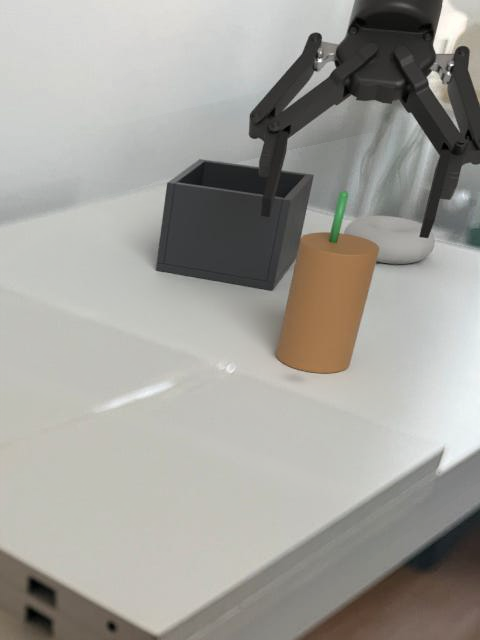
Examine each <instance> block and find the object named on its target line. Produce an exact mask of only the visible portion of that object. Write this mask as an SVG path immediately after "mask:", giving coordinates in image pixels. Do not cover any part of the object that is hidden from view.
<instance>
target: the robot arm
mask: <svg viewBox="0 0 480 640" xmlns="http://www.w3.org/2000/svg"><path fill="white" fill-rule="evenodd" d="M443 3H444V0H354V2H353V6H352V9H351V14H350V16H349V22H348V25H347V29H346V34H345V36H344V38H343V40H341V41H340V42H339V43H338V44H337V43H333V42H328V41H323V36H322V34H321V33H320V32H312V33H310V34H309V35H308V38H307V40H306V42H305V45H304V47H303V50H302V52H301V54H300V55H299V56H298V57H297V59H296V60H295V61H294V62H293V63H292V65H291V66H290V67H289V68H288V69H287V70H286V71H285V72H284V74H283V75H282V76H281V77H280V78H279V79H278V80H277V82H276V83H274V85H273V86H272V87H271V88H270V90H269V91H268V92H267V93H266V94H265V95H264V97H262V99H261V100H260V101H259V102H258V103H257V105H256V106H255V107H254V108H253V109H252V111H250V113H249V118H248V119H249V121H248V136H249V138H250V139H252V140H258V139H260V140H261V141H262V142H263V144H262V149H261V153H260V156H259V160H258V167H259V176H263V177H268V179H267V183H266V187H265V190H264V194H263V198H262V210H261V216H264V217H270V213H271V209H272V206H273V202H274V198H275V194H276V190H277V186H278V182H279V178H280V174H281V170H283V166H284V162H285V160H286V159H285V158H286V155H287V150H288V140H289V138H291V137H293V136H294V135H295V134H297V133H298V132H299V131H301V130H303V129H304V128H305V127H306V126H307V125H309V124H310V123H312V122H313V121H314V120H316V119H317V118H318V117H319V116H321V115H322V114H324V113H325V112H326V111H327V110H329V109H330V108H332V107H333V106H339V105H340V104H341V103H343V102H344V101H346V100H347V99H348V98H350V97H351V96H352V97H355V98H356V99H355V101H359V102H361V101H362V102H368V101H377V102H379V103H382V104H387V105H392V104H393V102H395V101H399V102H400V104H401V105H402V106H403V108H404V109H405V111H406V112H407V113H408V114H411V115H412V116H413V118H414V119H415V121H416V122H417V124H418V125H419V127H420V129H421V130H422V132H423V134H424V135H425V136H426V137H427V139H428V141H429V142H430V144H431V145H432V146H433V148H434V150H435V151H436V152H437V154H438V155H439V157H438V160H437V163H436V165H435V168H434V172H433V176H432V181H431V186H430V190H429V194H428V198H427V201H426V202H427V203H426V206H425V210H424V215H423V219H422V223H421V224H422V227H421V231H420V236H419V237H422V238H428V237H429V235H430V232H431V231H432V230H433V229H432V228H433V226H434V224H435V220H436V217H437V213H438V208H439V205H440V200H448V201H450V200H451V199H452V198H453V196H454V195H455V192H456V189H457V187H458V183H459V179H460V175H461V171H462V167H463V166H464V165H466V164H472V165H474V166H476V165H480V102H479V98H478V96H477V93H476V90H475V86H474V83H473V81H472V78H471V74H470V71H469V63H470V55H471V54H470V53H471V51H470V50H471V49H470V48H469V47H468V46H466V45H460V46H458V47H457V48H456V49H455V51H454V53H437V52H436V49H435V47H434V42H435V38H436V36H437V35H436V34H437V30H438V26H439V22H440V18H441V14H442V10H443ZM330 62H334V63H333V64H334V66H335V68H334V69H333V70H332V71H331V73H329V76H328V77H326V79H324V80H322V81H321V82H320V83H318V84H317V85H316V86H314V87H313V88H312V89H311V90H309V91H308V92H307V93H305V94H304V95H303V96H301V97H300V98H298V99H297V100H296V101H294V102H293V103H292V101H293V100H294V99H295V98H296V97H297V96H298V94H299V93H300V92H301V91H302V90H303V88H304V87H305V86H306V85H307V84H308V83H309V81H310V80H311V79H312V77H313V75H314V73H315V72H316V73H318V72H320V71H322V69H323V68H324V67H325V66H326V64H328V63H330ZM433 72H435V73H437V74H438V76H439V79H440V81H441V84H442V85H445V86H447V88H446V89H447V95H448V99H449V102H450V107H451V109H452V112H453V115H454V118H455V121H456V124H457V126H456V125H455V123H454V121H453V120H452V119H451V117H450V116H449V114H448V113H447V111H446V110H445V108H444V107H443V105H442V103H440V101H439V99H438V98H437V96H436V95H435V93H434V92H433V91H432V89H431V87H430V83H429V79H428V77H429V76H430V75H431V74H432V73H433Z"/></svg>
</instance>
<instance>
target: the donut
mask: <svg viewBox="0 0 480 640" xmlns="http://www.w3.org/2000/svg"><path fill="white" fill-rule="evenodd" d="M421 227H422V223H421V222H419V221H416V220H412V219H408V218H406V217H398V216H390V215H365V216H361V217H357V218H356V219H354V220H352V221H350V222H349V223H348V225H347V226H346V227H345V228H344V232H343V234H349V235H354V236H358V237H362V238H365V239H368V240H370V241H372V242H374V243H376V244H377V245H378V246H379V253H378V257H377V260H376V263H382V264H388V265H389V264H391V265H408V264H413V263H417V262H420V261H422V260H425V259H426V258H428V256H429V255H430V254H431V253H432V252H433V250H434V248H435V244H436V243H435V242H436V240H435V236H434V232H433V231H432V230H431V232H430V235H429V237H428V238H422V237H419V236H420V231H421Z"/></svg>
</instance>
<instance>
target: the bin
mask: <svg viewBox="0 0 480 640" xmlns="http://www.w3.org/2000/svg"><path fill="white" fill-rule="evenodd" d="M314 177H315V175H314V174H311V173H305V172H297V171H289V170H283V169H282V170H281V174H280V178H279V182H278V186H277V190H276V194H275V198H274V202H273V206H272V209H271V213H270V217H264V216H261V210H262V198H263V194H264V190H265V187H266V183H267V179H268V177H263V176H259V166H254V165H246V164H240V163H239V164H238V163H231V162H224V161H216V160H209V159H201V158H199V159H198V160H196V161H195V162H194V163H192V164H191V165H190V166H188V167H187V168H185V169H184V170H182V171H181V172H180V173H179V174H178V175H176V176H174V177H173V178H172V179H170V180H168V181H167V182H166V189H165V196H164V204H163V211H162V218H161V219H162V220H161V226H160V234H159V241H158V242H159V243H158V250H157V258H156V265H155V271H159V272H163V273H170V274H175V275H181V276H187V277H193V278H199V279H203V280H204V279H205V280H211V281H216V282H222V283H226V284H233V285H238V286H243V287H244V286H245V287H250V288H256V289H262V290H267V291H274V290H275V288H276V287H277V285H278V284H279V282H280V281H281V280H282V279H283V277H284V276H285V275H286V274H287V272H288V270H289V269H290V268H291V266H292V265H293V264H294V263H295V262H296V257H297V252H298V248H299V243H300V239H301V237H302V233H303V230H304V229H303V228H304V224H305V220H306V216H307V210H308V205H309V200H310V195H311V192H312V186H313V181H314Z"/></svg>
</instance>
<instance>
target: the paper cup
mask: <svg viewBox="0 0 480 640" xmlns="http://www.w3.org/2000/svg"><path fill="white" fill-rule="evenodd" d="M348 193H349V192H347V191H345V190H342V191H341V192H339V195H338V197H337V204H336V207H335V212H334V216H333V220H332V224H331V228H330V229H331V230H330V232H327V231H324V232H323V231H321V232H320V231H319V232H311V233H307V234H304V235H301V239H300V243H299V248H298V252H297V257H296V259H295V261H294V266H293V267H294V268H293V273H292V277H291V282H290V287H289V292H288V296H287V301H286V306H285V310H284V315H283V320H282V324H281V329H280V333H279V338H278V344H277V348H276V352H275V356H276V358H277V359H278V361H280V362H281V363H282V364H283V365H286V366H288V367H290V368H293V369H294V370H295V369H296V370H300V371H303V372H308V373H314V374H315V373H316V374H334V373H340V372H343V371H346V370H347V369H348V368H349V367H350V365H351V361H352V359H353V354H354V350H355V347H356V342H357V338H358V334H359V330H360V326H361V322H362V318H363V314H364V310H365V307H366V302H367V299H368V296H369V291H370V287H371V283H372V279H373V276H374V272H375V268H376V264H377V262H376V260H377V257H378V253H379V246H378V245H377V244H376V243H374V242H372V241H370V240H368V239H365V238H362V237H358V236H354V235H349V234H344V233H341V228H342V224H343V219H344V215H345V212H346V206H347V202H348V198H349V194H348Z"/></svg>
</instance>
